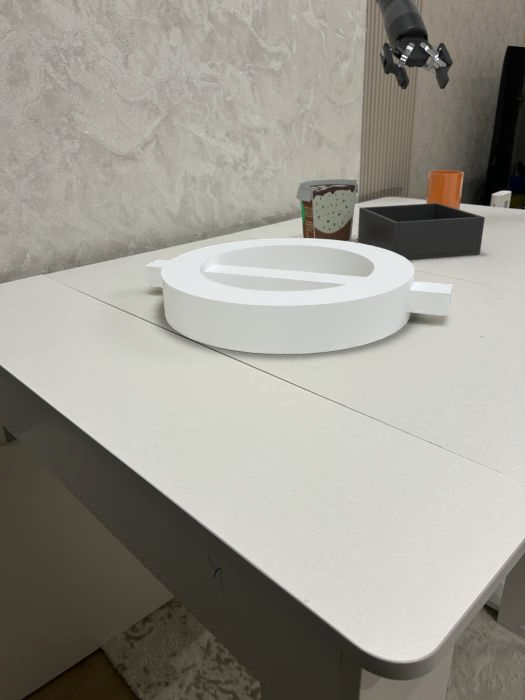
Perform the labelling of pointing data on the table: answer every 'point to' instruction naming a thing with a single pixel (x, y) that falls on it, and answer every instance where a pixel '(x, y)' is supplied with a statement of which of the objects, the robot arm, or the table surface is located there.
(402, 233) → the basket
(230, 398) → the table surface
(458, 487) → the table surface
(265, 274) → the ring with crossbar
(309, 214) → the food container
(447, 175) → the drinking cup
